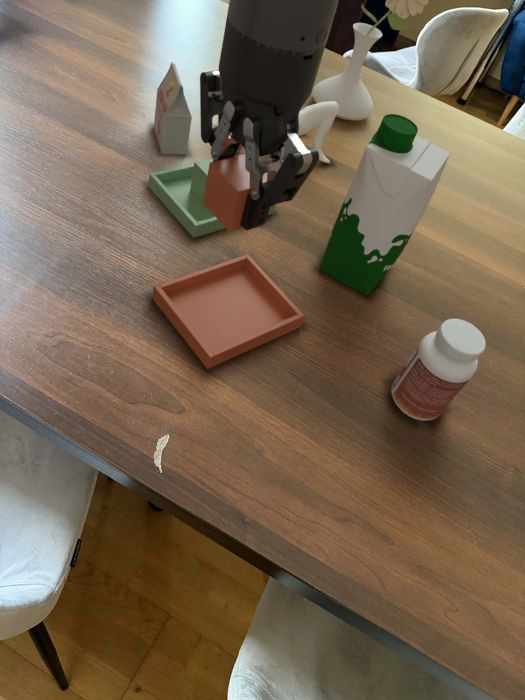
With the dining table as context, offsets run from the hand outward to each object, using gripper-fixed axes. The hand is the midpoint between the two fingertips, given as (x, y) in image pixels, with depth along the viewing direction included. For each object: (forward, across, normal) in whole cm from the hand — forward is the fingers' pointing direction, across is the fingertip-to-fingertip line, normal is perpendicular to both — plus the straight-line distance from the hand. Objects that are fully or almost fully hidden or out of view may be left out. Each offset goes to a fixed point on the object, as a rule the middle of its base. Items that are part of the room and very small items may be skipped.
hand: (235, 209), depth 55 cm
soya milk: (+15, +2, +22) cm, 26 cm away
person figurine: (+15, -26, +29) cm, 42 cm away
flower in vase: (+15, -30, +50) cm, 60 cm away
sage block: (+14, -17, +12) cm, 25 cm away
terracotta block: (0, 0, 0) cm, 0 cm away
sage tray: (+15, -17, +12) cm, 25 cm away
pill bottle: (+15, +21, +14) cm, 29 cm away
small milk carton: (+15, -31, +14) cm, 37 cm away
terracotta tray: (+15, +1, +2) cm, 15 cm away
